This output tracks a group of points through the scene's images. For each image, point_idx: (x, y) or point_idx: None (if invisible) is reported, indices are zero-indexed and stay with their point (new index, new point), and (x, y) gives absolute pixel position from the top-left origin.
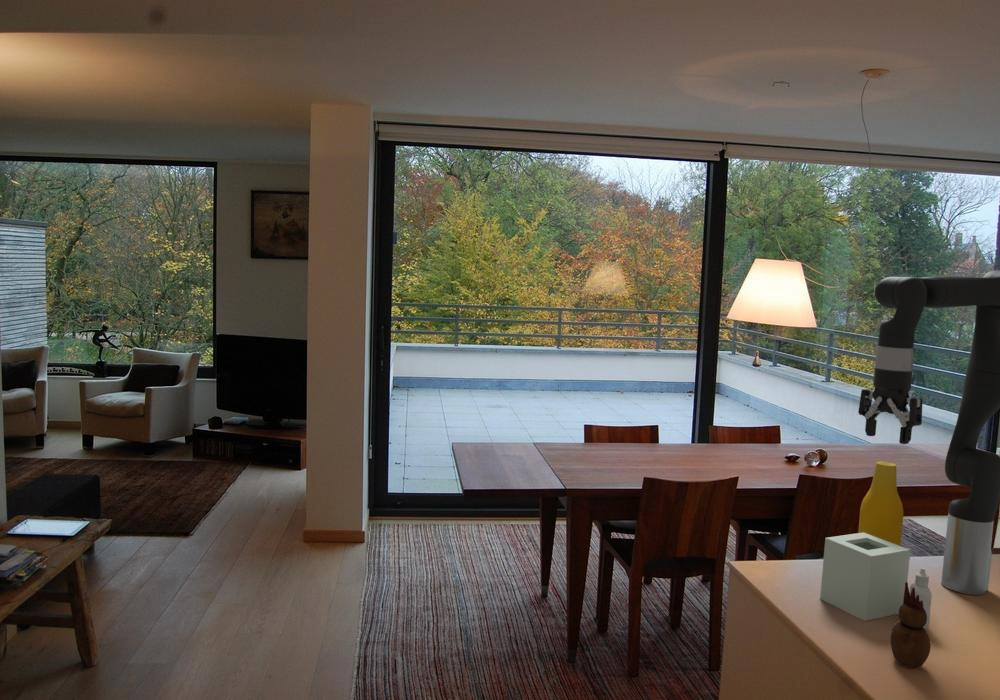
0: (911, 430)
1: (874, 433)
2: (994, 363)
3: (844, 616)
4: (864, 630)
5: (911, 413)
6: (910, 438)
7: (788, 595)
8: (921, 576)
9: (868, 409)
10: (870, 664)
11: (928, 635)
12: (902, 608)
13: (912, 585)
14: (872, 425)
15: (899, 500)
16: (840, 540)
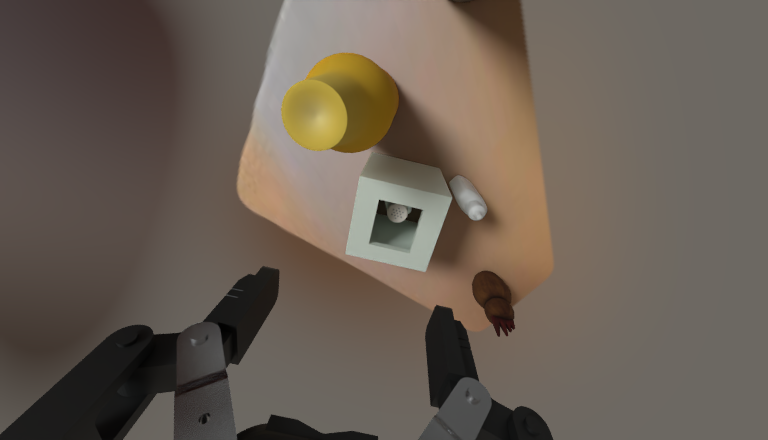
0: (475, 372)
1: (273, 277)
2: None
3: None
4: None
5: None
6: (466, 337)
7: (335, 232)
8: (477, 219)
9: (125, 373)
10: (462, 301)
11: (510, 298)
12: (492, 323)
13: (461, 207)
14: (253, 323)
15: (381, 101)
16: (364, 247)
